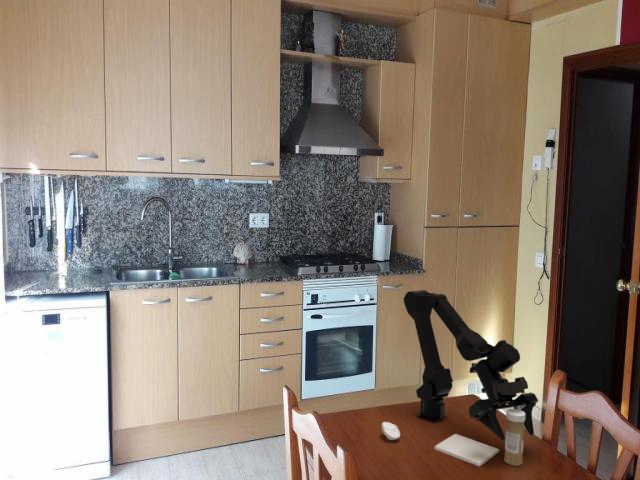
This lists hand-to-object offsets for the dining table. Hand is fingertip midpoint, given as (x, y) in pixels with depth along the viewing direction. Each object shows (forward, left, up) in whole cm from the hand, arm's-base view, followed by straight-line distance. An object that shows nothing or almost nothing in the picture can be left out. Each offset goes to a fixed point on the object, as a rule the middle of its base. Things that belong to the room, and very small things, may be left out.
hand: (518, 437), depth 140 cm
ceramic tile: (-13, -3, -7) cm, 15 cm away
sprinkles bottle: (-1, 0, -7) cm, 8 cm away
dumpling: (-31, -11, -7) cm, 34 cm away
